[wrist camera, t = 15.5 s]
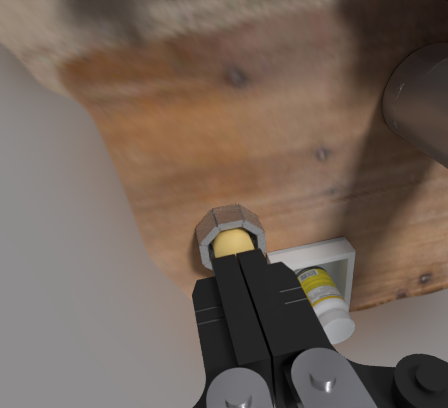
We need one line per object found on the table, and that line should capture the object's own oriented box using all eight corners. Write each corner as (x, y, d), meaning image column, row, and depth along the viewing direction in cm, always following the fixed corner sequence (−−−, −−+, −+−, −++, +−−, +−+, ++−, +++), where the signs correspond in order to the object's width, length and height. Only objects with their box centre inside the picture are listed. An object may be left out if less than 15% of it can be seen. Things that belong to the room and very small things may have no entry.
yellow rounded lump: (246, 217, 41) (253, 234, 38) (248, 246, 43) (255, 264, 41) (208, 224, 41) (213, 242, 38) (213, 254, 43) (218, 272, 40)
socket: (256, 199, 41) (263, 215, 39) (259, 249, 45) (266, 266, 42) (192, 212, 40) (196, 229, 38) (201, 261, 44) (205, 279, 42)
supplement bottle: (313, 295, 50) (342, 350, 43) (282, 288, 48) (307, 344, 41) (333, 267, 48) (367, 320, 41) (302, 259, 46) (332, 313, 39)
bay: (344, 236, 46) (355, 251, 44) (339, 293, 52) (349, 309, 49) (266, 252, 45) (273, 268, 43) (269, 309, 51) (276, 326, 48)
